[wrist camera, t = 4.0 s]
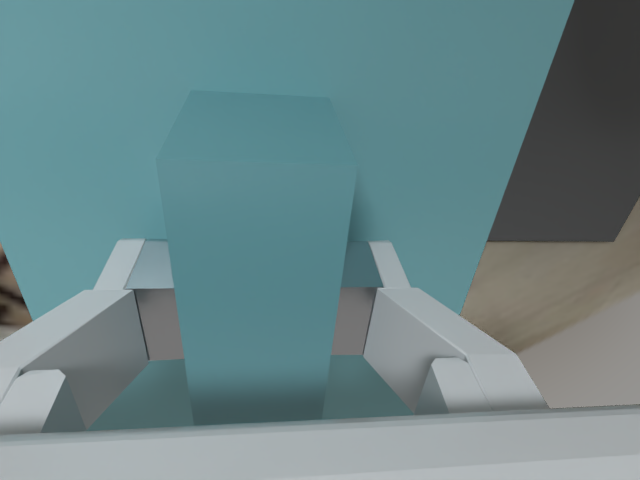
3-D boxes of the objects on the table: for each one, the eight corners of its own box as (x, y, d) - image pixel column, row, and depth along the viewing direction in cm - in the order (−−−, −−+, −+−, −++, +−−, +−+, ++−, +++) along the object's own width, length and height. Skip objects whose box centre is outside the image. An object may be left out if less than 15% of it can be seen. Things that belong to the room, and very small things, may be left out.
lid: (-64, -208, 7) (-697, -506, 2) (535, -129, 9) (863, -218, 4) (109, 371, 15) (41, 557, 11) (398, 362, 17) (450, 523, 12)
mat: (470, -81, 14) (475, -81, 13) (765, -47, 15) (776, -46, 15) (399, 235, 20) (402, 239, 20) (608, 237, 22) (613, 241, 21)
